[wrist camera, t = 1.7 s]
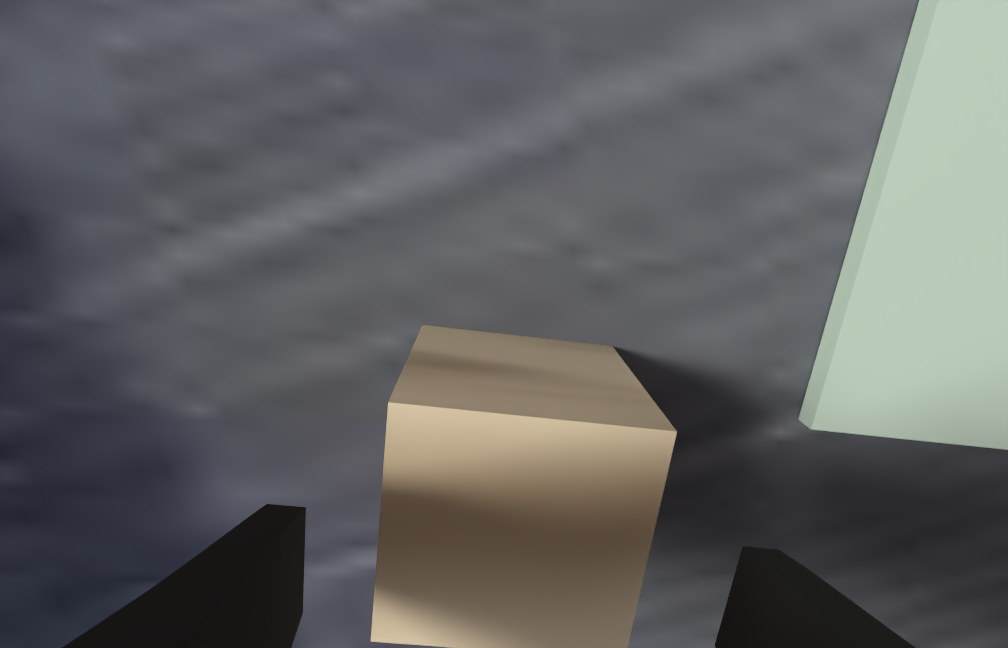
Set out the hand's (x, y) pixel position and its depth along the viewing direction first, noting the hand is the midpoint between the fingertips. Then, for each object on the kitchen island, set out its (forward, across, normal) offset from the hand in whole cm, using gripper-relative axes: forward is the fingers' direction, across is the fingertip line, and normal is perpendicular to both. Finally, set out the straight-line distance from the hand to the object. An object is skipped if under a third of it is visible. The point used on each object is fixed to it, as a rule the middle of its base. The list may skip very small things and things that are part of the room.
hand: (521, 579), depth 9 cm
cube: (+6, 0, 0) cm, 6 cm away
